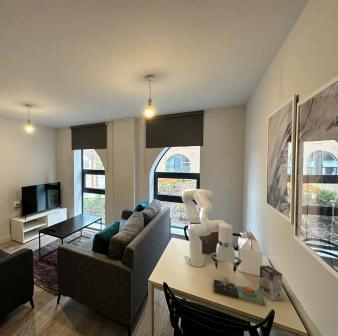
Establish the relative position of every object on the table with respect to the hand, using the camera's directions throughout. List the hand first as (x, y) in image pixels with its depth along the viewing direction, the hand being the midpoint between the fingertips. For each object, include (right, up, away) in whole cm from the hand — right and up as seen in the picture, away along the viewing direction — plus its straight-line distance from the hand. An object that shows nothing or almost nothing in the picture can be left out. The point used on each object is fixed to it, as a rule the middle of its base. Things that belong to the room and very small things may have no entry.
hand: (225, 269), depth 119 cm
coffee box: (+25, -14, -4) cm, 29 cm away
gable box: (+34, -12, +26) cm, 45 cm away
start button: (+11, -10, -5) cm, 16 cm away
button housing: (+12, -14, -5) cm, 19 cm away
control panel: (0, -14, +1) cm, 14 cm away
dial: (0, -11, +1) cm, 11 cm away
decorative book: (+11, -11, +50) cm, 52 cm away
